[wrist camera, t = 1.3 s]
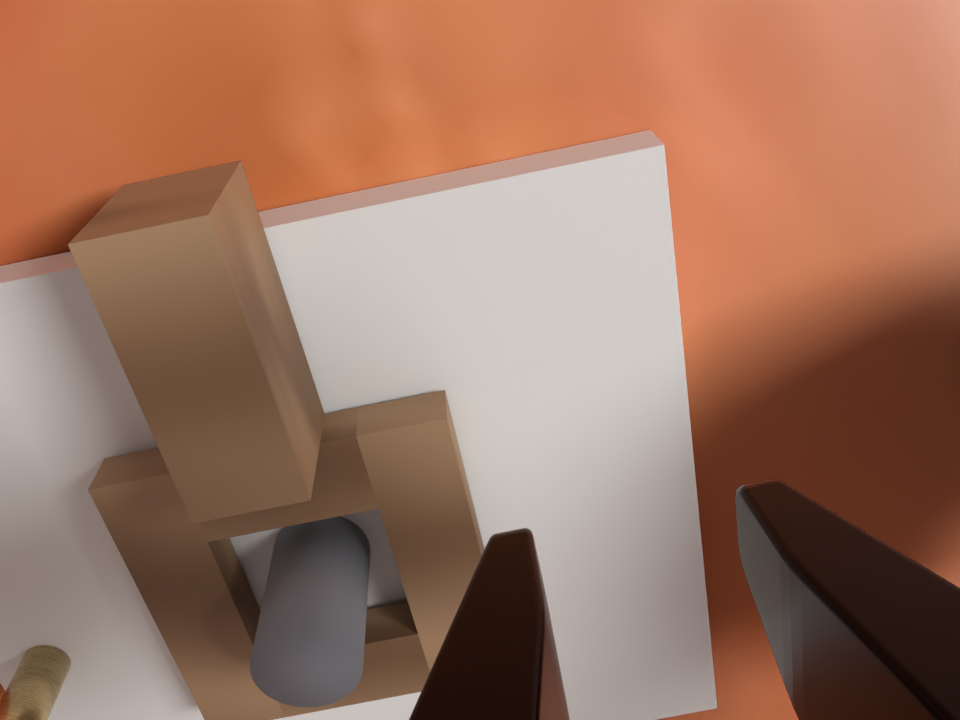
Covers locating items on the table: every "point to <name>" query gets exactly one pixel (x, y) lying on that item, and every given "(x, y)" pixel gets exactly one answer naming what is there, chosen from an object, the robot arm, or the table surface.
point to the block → (255, 445)
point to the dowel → (35, 684)
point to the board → (386, 377)
